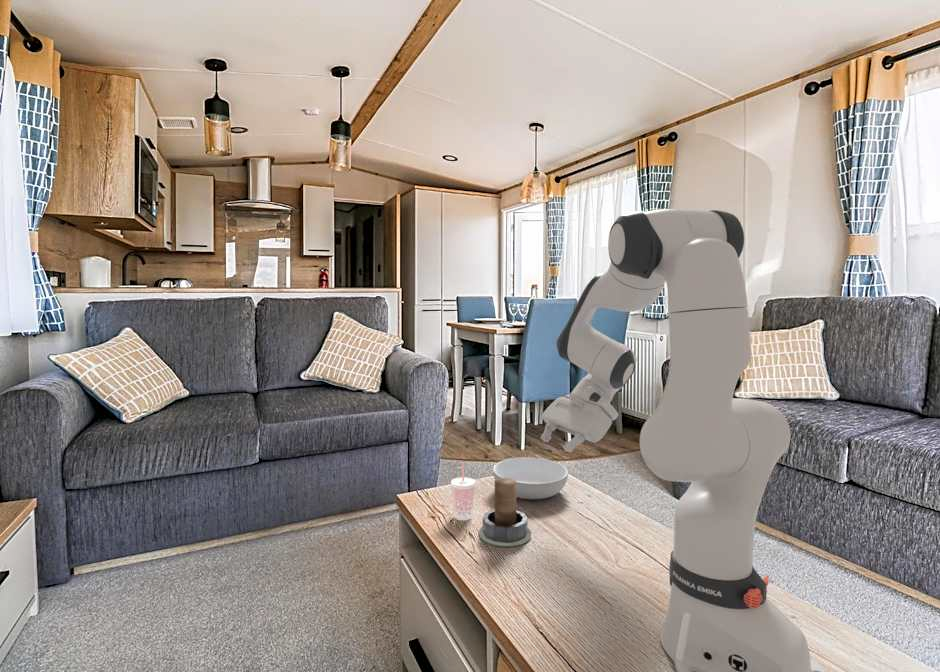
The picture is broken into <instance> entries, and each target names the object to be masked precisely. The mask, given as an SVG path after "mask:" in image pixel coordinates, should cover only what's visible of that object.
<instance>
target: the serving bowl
mask: <svg viewBox="0 0 940 672" xmlns="http://www.w3.org/2000/svg"><path fill="white" fill-rule="evenodd" d="M492 472H493V477H494V481H495V480H496V479H499V478H511V479H514V480H515V481H516V498H520V499H523V500H526V499H527V500H540V499H541V500H542V499H547V498H550V497H553V496H555V495H557V494H559V493H560V492H561V491H562V490H563V489H564V487H565V486H566V483H567V481H568V477H569V470H568V468H567V467H565V466H564V465H563V464H561V463H560V462H557V461H555V460H550V459H546V458H540V457H531V456H530V457H529V456H528V457H525V456H524V457H514V458H512V457H511V458H507V459H503V460H501V461H499V462H497V463H496V464H494V466H493V467H492Z"/></svg>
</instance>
